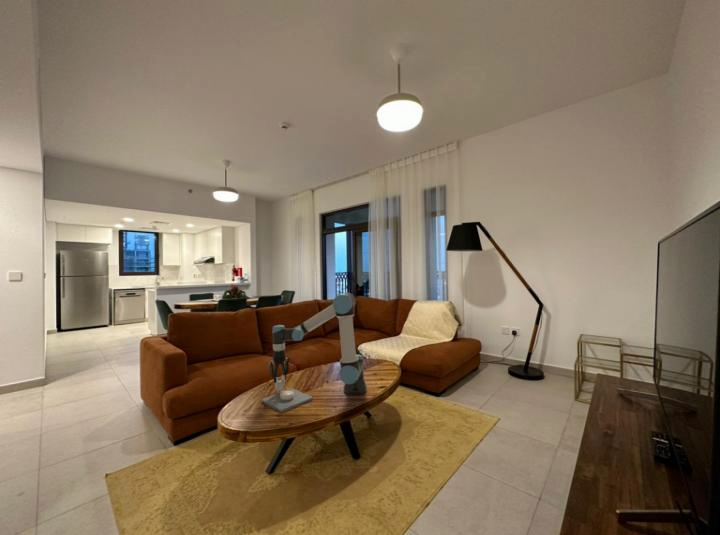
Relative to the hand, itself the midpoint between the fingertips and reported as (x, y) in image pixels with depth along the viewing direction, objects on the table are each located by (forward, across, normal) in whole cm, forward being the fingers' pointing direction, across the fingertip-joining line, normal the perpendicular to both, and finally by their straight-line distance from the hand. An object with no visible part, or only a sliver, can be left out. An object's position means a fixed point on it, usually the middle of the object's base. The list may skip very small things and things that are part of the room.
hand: (279, 386), depth 182 cm
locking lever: (+4, 0, +6) cm, 7 cm away
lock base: (+6, +1, +11) cm, 12 cm away
